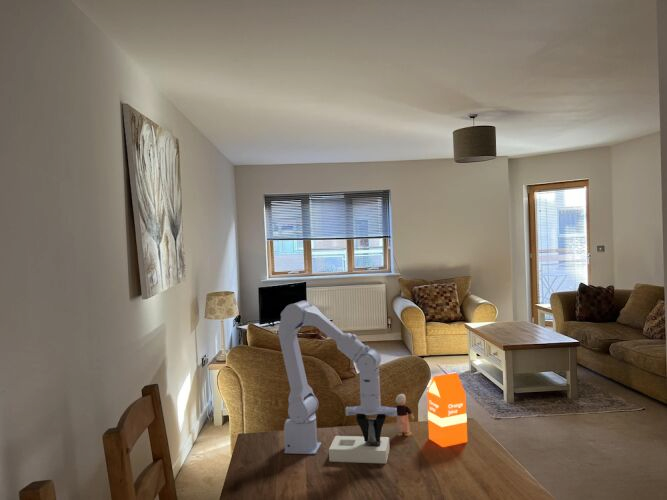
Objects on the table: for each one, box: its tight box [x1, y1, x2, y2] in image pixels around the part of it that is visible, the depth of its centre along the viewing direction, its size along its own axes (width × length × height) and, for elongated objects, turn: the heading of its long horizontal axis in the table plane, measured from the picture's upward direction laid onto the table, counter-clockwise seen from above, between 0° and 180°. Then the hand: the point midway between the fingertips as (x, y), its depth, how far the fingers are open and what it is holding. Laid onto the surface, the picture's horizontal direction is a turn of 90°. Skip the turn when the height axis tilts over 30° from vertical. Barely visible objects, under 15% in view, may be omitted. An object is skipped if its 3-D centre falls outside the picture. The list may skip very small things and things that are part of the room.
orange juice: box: [426, 372, 468, 448], centre depth 159 cm, size 8×9×20 cm
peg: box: [366, 417, 378, 447], centre depth 150 cm, size 3×3×9 cm
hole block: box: [328, 435, 390, 464], centre depth 151 cm, size 16×10×4 cm, turn 79°
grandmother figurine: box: [389, 393, 415, 437], centre depth 165 cm, size 8×4×13 cm, turn 84°
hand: (372, 440), depth 150 cm, fingers closed on peg, 3 cm apart
